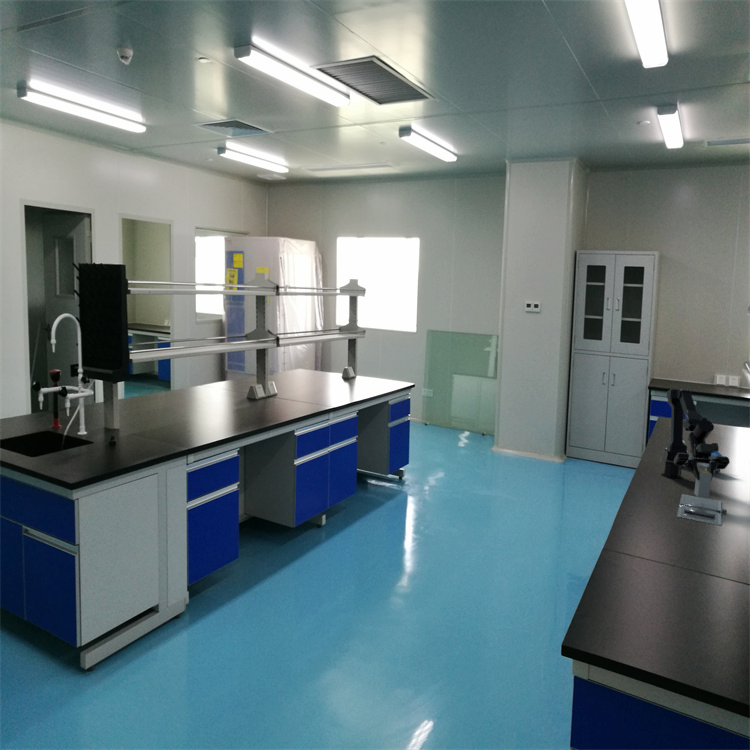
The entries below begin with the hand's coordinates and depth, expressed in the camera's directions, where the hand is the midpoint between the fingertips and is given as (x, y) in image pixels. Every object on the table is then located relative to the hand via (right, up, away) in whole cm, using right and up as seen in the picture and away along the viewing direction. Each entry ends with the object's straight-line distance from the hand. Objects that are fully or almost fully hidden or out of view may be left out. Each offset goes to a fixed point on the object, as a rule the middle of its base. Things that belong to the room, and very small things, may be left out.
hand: (704, 480), depth 235 cm
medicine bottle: (+17, -2, +58) cm, 60 cm away
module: (0, -6, +2) cm, 7 cm away
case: (-3, -10, -4) cm, 12 cm away
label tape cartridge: (+27, -5, +47) cm, 55 cm away
